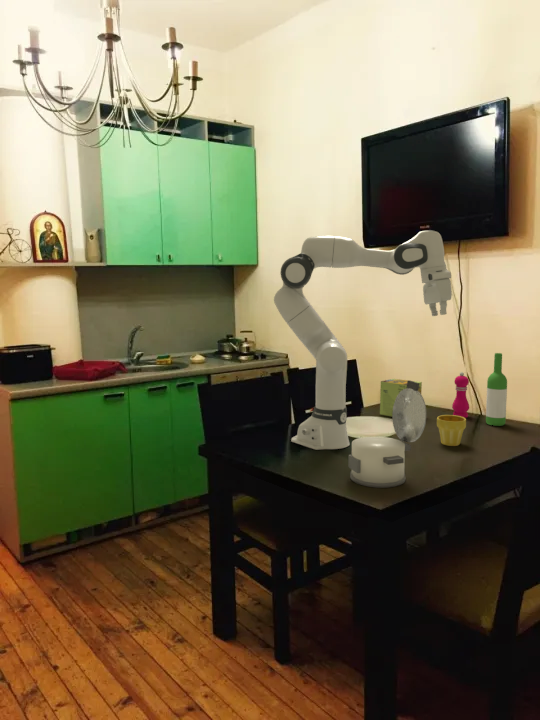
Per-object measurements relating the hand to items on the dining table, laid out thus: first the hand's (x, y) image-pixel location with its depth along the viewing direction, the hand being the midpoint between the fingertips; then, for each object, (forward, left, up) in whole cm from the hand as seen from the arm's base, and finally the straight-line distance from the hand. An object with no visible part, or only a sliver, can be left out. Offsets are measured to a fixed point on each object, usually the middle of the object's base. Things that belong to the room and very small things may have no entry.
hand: (439, 315), depth 204 cm
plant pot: (+2, +8, -48) cm, 49 cm away
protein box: (-35, +37, -48) cm, 70 cm away
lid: (+6, -34, -28) cm, 44 cm away
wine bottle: (+4, +47, -48) cm, 67 cm away
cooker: (+1, -42, -48) cm, 64 cm away
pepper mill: (-13, +51, -48) cm, 71 cm away
